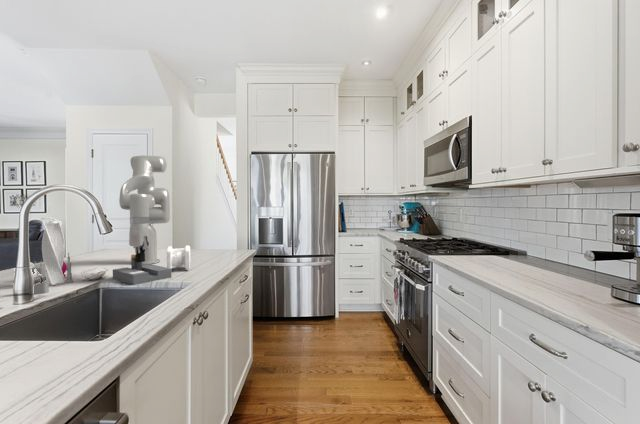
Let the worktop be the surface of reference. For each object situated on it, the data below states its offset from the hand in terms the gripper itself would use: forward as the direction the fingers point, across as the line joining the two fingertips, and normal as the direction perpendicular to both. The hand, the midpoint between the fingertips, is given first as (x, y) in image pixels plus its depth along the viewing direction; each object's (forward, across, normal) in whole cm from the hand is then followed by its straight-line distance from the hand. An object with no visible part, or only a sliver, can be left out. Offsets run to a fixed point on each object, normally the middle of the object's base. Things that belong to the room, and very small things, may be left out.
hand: (140, 261), depth 143 cm
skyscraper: (+7, -18, -26) cm, 32 cm away
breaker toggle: (+5, -4, 0) cm, 6 cm away
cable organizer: (+8, -3, +20) cm, 22 cm away
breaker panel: (+7, +1, 0) cm, 7 cm away
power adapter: (+7, -6, -34) cm, 35 cm away
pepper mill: (+7, -28, -23) cm, 37 cm away
